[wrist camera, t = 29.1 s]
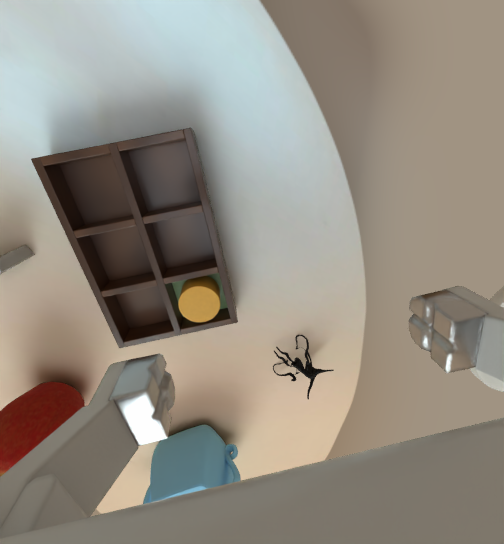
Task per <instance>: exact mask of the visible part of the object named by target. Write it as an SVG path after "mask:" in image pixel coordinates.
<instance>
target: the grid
mask: <svg viewBox="0 0 504 544" xmlns="http://www.w3.org/2000/svg"><path fill="white" fill-rule="evenodd" d="M31 160H32V162H33V164H34V167H35V169H36V171H37V173H38V175H39V177H40V179H41V182H42V184H43V186H44V188H45V190H46V192H47V194H48V197H49V199H50V201H51V203H52V205H53V207H54V209H55V211H56V214H57V216H58V218H59V220H60V222H61V224H62V226H63V229H64V231H65V233H66V235H67V237H68V239H69V241H70V244H71V246H72V248H73V250H74V252H75V254H76V256H77V259H78V261H79V263H80V265H81V267H82V269H83V271H84V274H85V276H86V278H87V280H88V282H89V284H90V286H91V289H92V291H93V293H94V295H95V297H96V299H97V301H98V304H99V306H100V308H101V310H102V312H103V314H104V316H105V319H106V321H107V323H108V325H109V327H110V329H111V331H112V334H113V336H114V338H115V340H116V342H117V344H118V346H119V348H123V347H128V346H132V345H137V344H141V343H146V342H150V341H155V340H159V339H164V338H169V337H173V336H178V335H182V334H187V333H191V332H196V331H200V330H205V329H209V328H214V327H219V326H223V325H228V324H231V323H232V324H233V323H237V322H238V320H237V312H236V306H235V302H234V298H233V293H232V289H231V285H230V281H229V277H228V272H227V268H226V264H225V260H224V255H223V251H222V247H221V243H220V239H219V234H218V230H217V226H216V222H215V218H214V213H213V209H212V205H211V201H210V197H209V192H208V188H207V184H206V180H205V176H204V171H203V167H202V163H201V159H200V155H199V150H198V146H197V142H196V138H195V134H194V131H193V130H192V129H191V128H187V129H183V130H177V131H172V132H167V133H161V134H156V135H151V136H146V137H141V138H136V139H131V140H125V141H120V142H115V143H110V144H105V145H100V146H94V147H89V148H84V149H79V150H74V151H69V152H64V153H58V154H53V155H48V156H43V157H38V158H33V159H31ZM201 276H208V277H211V278H212V279H214V280H215V281H216V282H217V284H218V285H219V288H220V309H219V312H218V313H217V315H216V316H215V317H214V318H212V319H211V320H209V321H206V322H193V321H190V320H188V319H187V318H185V317H184V316H183V315H182V314H181V312H180V310H179V306H178V302H179V298H180V294H181V290H182V287H183V285H184V283H185V282H186V281H187V280H188V279H192V278H196V277H201Z"/></svg>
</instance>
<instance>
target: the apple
mask: <svg viewBox="0 0 504 544" xmlns="http://www.w3.org/2000/svg"><path fill="white" fill-rule="evenodd" d="M82 407H85V405H84V400H83V398H82V396H81V394H80V393H79V392H78V391H77V390H75V389H74V388H73V387H71V386H69V385H67V384H64V383H59V382H47V383H42V384H39V385H38V386H36V387H34V388H33V389H31V390H30V391H28V392H26V393H25V394H23V395H21V396H20V397H18V398H17V399H15V400H14V401H12V402H11V403H9V404H8V405H6V406H5V407H4V408H3V409H2V410H1V411H0V477H1V476H2V475H3V474H4V473H6V472H7V471H8V470H9V469H10V468H11V467H13V466H14V465H15V464H16V463H17V462H18V461H20V460H21V459H22V458H23V457H24V456H26V455H27V454H28V453H29V452H30V451H31V450H33V449H34V448H35V447H36V446H37V445H39V444H40V443H41V442H42V441H43V440H44V439H46V438H47V437H48V436H49V435H50V434H52V433H53V432H54V431H55V430H56V429H57V428H59V427H60V426H61V425H62V424H63V423H65V422H66V421H67V420H68V419H69V418H70V417H72V416H73V415H74V414H75V413H76V412H77V411H79V410H80V409H81V408H82Z"/></svg>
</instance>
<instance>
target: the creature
mask: <svg viewBox="0 0 504 544" xmlns="http://www.w3.org/2000/svg"><path fill="white" fill-rule="evenodd" d="M298 336H303V335H297V336H296V343H297V337H298ZM303 337H304V338H305V339H306V342H307V349H306V350H305V351H306V352H305V358H306V359H307V361H306V366H305V369H304V367H303V364H302V362H301V360H300V359H299V358H295V361H292V360H291V358H290V357H289V355H288V353H286V352H282V351H280V350H279V348H278V347H276V348H277V349H278V350H279V351H280V352H281V353H282V354H285V355H286V356H287V358H288V359H289V360H290V361H291V362H292V363H291V366H292V365H293V366H292V367H296V369H298V370H299V371H300V372H302V373H303V374H304V375H305V376H306V377H308V378H310V379H311V381H310V386H309V389H308V395H307V397H308V399H309V392H310V389H311V387H312V385H313V381H314V379H315V377H316V376H317V375H318V374H319V373H323V372H327V371H333V370H321V369H315V368H314V367H312V362H311V358H310V355H309V353H308V349H309V343H308V340H307V338H306V337H305V336H303ZM296 349H298V348H297V347H296ZM303 349H304V348H303ZM274 352H275V351H274ZM275 354H276V355H277V357H278V358H280V359H282V360H283V361H284V362H283V363H285V364H286V365H287V366H290V365H289V364H288V360H287V361H285V359H284V358H283V357H279V356H278V354H277V353H276V352H275ZM307 355H308V356H307ZM308 357H309V359H310V362H311V363H309V359H308ZM280 364H282V363H280ZM275 365H277V364H275ZM275 365H274V366H275ZM274 366H273V370H274ZM291 366H290V367H291ZM274 372H275V371H274ZM275 373H276V372H275ZM276 374H277V373H276ZM296 374H298V373H297V372H296ZM277 375H279V374H277ZM287 375H290V376H292V377H293V379H292V380H291V381H296V377H295V376H294V374H292V373H287V374H282V375H279V376H287Z"/></svg>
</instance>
